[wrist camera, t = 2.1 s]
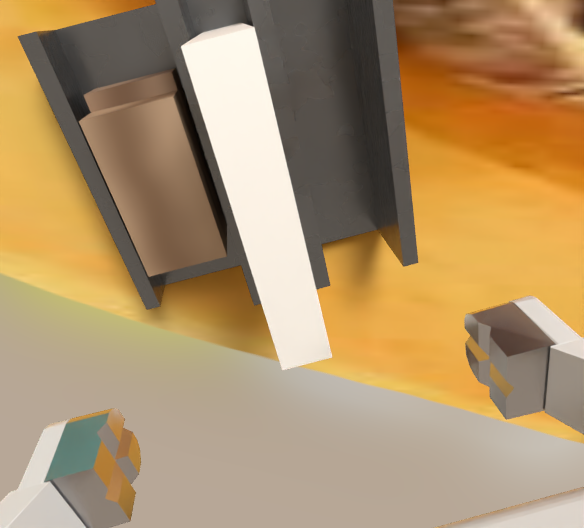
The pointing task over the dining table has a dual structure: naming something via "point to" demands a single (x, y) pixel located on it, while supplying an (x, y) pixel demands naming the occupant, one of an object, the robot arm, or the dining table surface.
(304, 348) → the tall sheet
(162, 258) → the offcut upper
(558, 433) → the dining table surface
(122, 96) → the offcut lower
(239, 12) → the rack
